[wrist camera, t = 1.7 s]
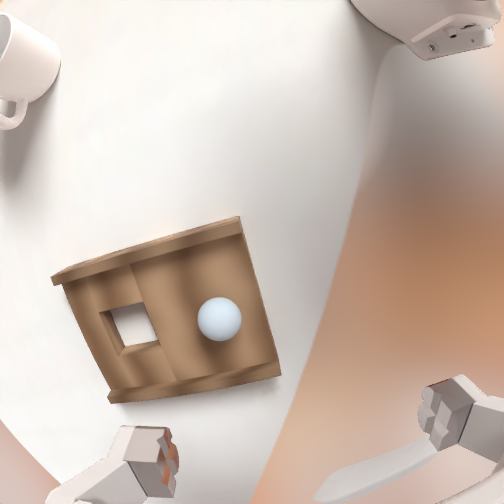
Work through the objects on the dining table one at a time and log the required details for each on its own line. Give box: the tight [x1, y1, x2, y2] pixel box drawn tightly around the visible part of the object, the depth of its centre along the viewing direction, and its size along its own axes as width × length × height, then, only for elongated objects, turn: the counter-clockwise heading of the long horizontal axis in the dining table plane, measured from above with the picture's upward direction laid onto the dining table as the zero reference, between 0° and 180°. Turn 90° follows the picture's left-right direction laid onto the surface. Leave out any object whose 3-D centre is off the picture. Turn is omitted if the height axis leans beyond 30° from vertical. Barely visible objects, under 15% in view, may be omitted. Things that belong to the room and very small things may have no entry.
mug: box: [0, 13, 61, 130], centre depth 22 cm, size 12×8×10 cm
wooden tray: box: [51, 216, 281, 404], centre depth 31 cm, size 20×16×4 cm
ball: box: [198, 297, 242, 341], centre depth 29 cm, size 4×4×4 cm
